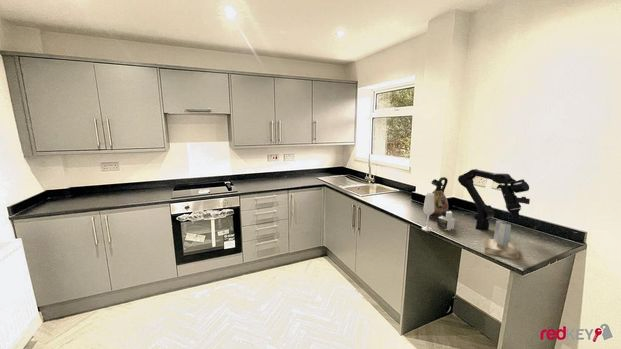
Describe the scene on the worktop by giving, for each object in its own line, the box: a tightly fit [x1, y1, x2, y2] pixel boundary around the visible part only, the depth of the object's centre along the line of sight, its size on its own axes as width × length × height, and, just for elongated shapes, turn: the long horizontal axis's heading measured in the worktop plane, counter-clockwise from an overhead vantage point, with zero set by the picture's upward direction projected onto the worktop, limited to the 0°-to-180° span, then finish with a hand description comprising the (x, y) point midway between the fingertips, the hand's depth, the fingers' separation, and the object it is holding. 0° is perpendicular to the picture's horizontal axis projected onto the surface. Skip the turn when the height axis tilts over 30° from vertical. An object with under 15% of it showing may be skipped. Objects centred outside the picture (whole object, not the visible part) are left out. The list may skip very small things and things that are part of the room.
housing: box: [493, 220, 512, 248], centre depth 137 cm, size 5×5×13 cm
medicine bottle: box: [436, 209, 456, 231], centre depth 168 cm, size 7×7×12 cm
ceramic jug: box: [429, 177, 449, 219], centre depth 189 cm, size 17×15×30 cm
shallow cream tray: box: [483, 237, 519, 260], centre depth 138 cm, size 14×14×3 cm
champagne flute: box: [421, 192, 434, 232], centre depth 166 cm, size 7×7×24 cm
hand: (517, 220), depth 148 cm, fingers open, 9 cm apart
